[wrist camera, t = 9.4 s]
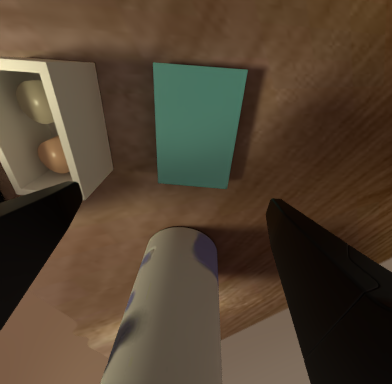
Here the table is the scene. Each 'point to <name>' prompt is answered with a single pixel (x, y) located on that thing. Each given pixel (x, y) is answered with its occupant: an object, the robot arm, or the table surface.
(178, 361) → the container
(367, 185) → the table surface
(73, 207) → the robot arm
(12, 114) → the storage box
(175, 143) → the lid
